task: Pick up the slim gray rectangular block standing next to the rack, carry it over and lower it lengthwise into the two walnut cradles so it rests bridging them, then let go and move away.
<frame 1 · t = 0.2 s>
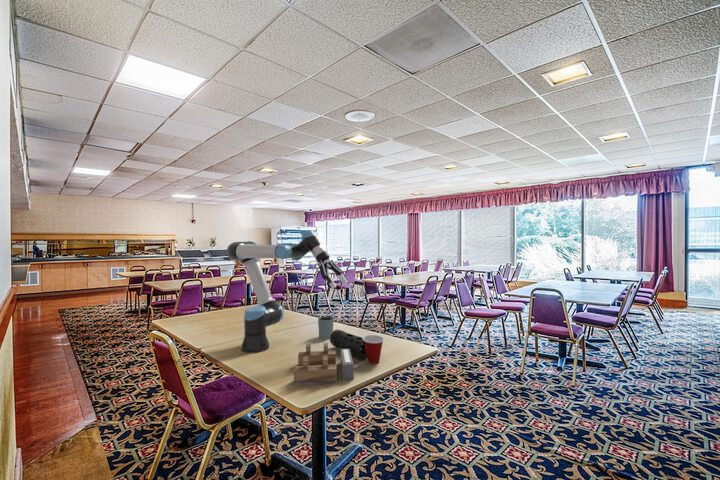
hand: (340, 286, 191), 36 cm above the table, tool tilted 35°, fingers open, 13 cm apart
gray rectangular block: (346, 371, 163), on the table
rack: (316, 372, 160), on the table
plastic cup: (373, 362, 174), on the table
black perforated cylinder: (349, 353, 189), on the table
grey green pot: (326, 337, 219), on the table
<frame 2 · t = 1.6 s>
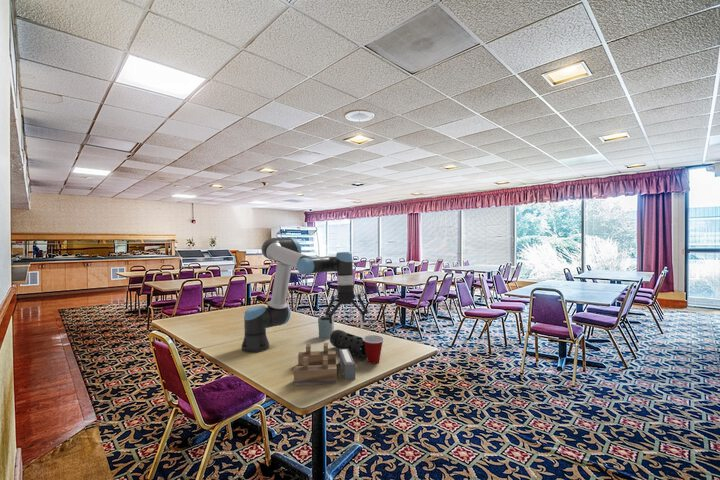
hand: (347, 329, 164), 19 cm above the table, tool pointing down, fingers open, 13 cm apart
nothing on the table moved.
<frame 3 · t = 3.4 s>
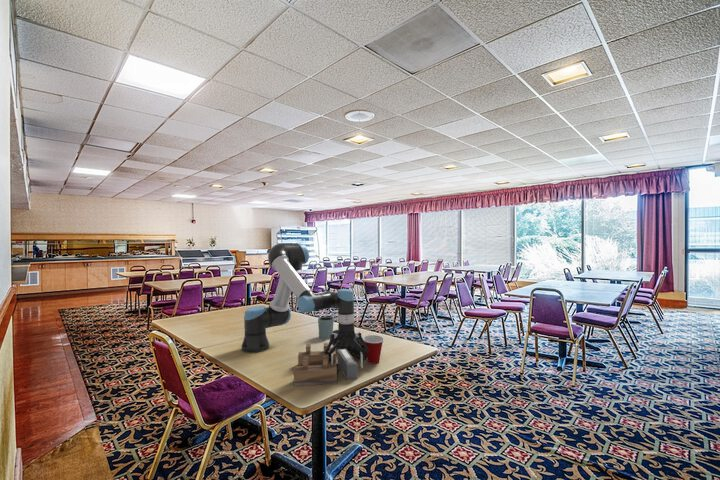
hand: (347, 368, 162), 1 cm above the table, tool pointing down, fingers open, 13 cm apart
nothing on the table moved.
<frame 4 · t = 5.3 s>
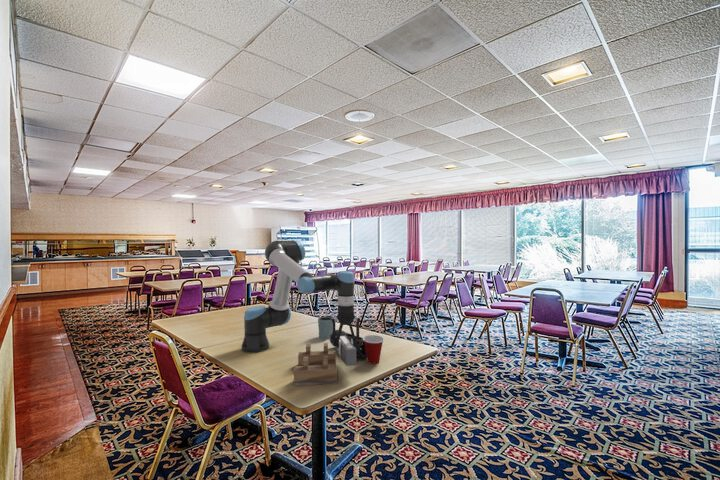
hand: (345, 354, 163), 8 cm above the table, tool pointing down, fingers closed on gray rectangular block, 5 cm apart
gray rectangular block: (345, 357, 163), point 6 cm above the table, touching gripper
everything else where it was.
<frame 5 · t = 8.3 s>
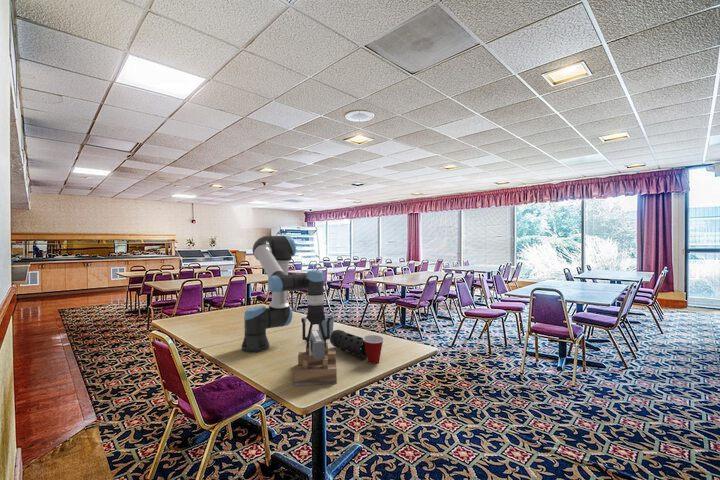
hand: (316, 354, 160), 9 cm above the table, tool pointing down, fingers closed on gray rectangular block, 5 cm apart
gray rectangular block: (316, 351, 160), point 10 cm above the table, touching gripper, rack
everything else where it was.
when the fingers open (6 cm above the table, at t = 9.0 s): gray rectangular block stays where it is, resting on rack.
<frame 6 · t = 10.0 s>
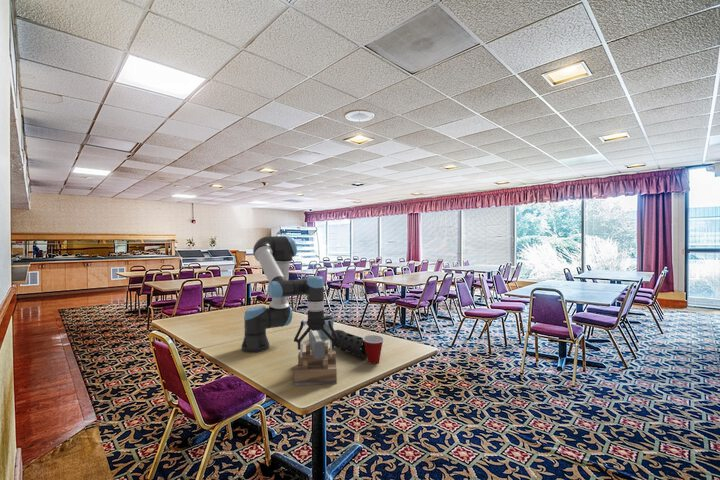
hand: (316, 356, 160), 8 cm above the table, tool pointing down, fingers open, 13 cm apart
gray rectangular block: (316, 351, 160), point 10 cm above the table, touching rack
everything else where it was.
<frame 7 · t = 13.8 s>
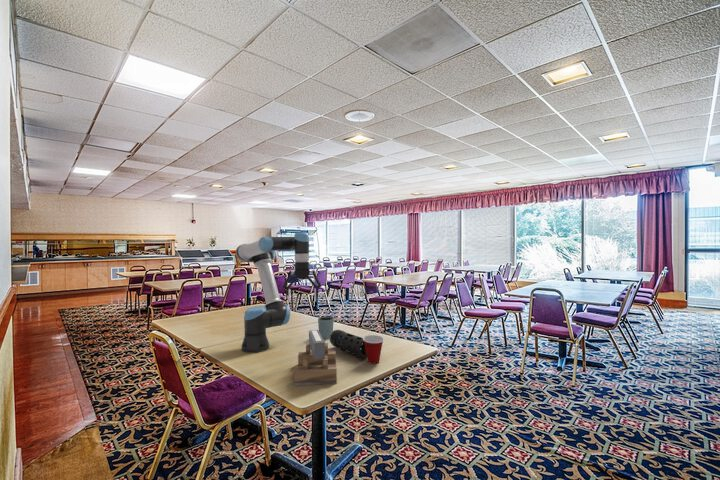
hand: (302, 301, 186), 29 cm above the table, tool pointing down, fingers open, 13 cm apart
nothing on the table moved.
at the end: gray rectangular block inside the target area (0.3 cm from its centre), point 10.0 cm above the table; gray rectangular block touching rack; the gripper is holding nothing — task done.
